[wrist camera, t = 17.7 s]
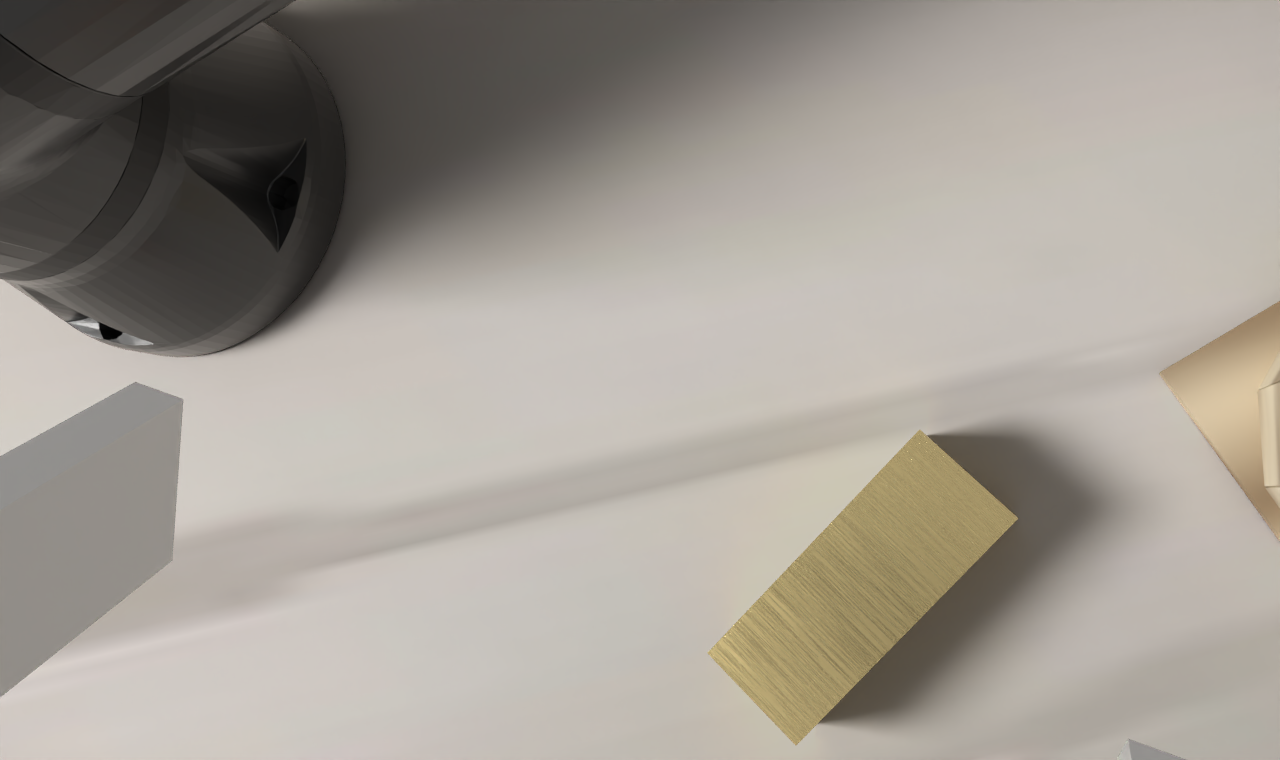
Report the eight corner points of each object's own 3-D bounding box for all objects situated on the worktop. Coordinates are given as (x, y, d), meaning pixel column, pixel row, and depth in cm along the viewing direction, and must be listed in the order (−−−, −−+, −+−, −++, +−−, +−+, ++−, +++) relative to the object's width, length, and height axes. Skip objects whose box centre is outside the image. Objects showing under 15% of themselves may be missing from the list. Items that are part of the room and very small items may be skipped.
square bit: (927, 435, 40) (733, 638, 42) (919, 429, 37) (707, 652, 38) (1016, 516, 39) (815, 722, 41) (1018, 518, 36) (796, 745, 37)
